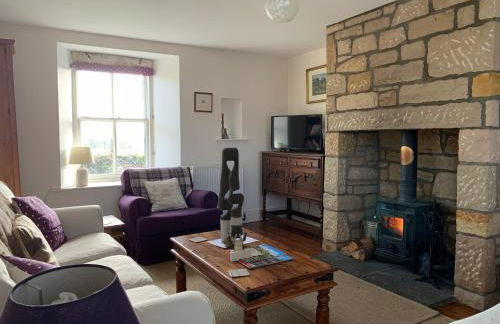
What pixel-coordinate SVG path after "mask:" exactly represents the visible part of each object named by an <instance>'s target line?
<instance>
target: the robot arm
mask: <svg viewBox="0 0 500 324" xmlns="http://www.w3.org/2000/svg"><path fill="white" fill-rule="evenodd" d="M221 152H222V153H221V170H220V171H221V172H220V181H219V182H220V183H219V194H218V200H217V208H218V211H225V212H224V213H222V214H220V241H221V243H222V244H224V243H223V241H224V240H225V238H226V237H227V238H228V242H229V243H230V244H232V247H231V249H232V250H233V249H234V242H235V240H238V239H240V240H241V241H242V247H244V242H246V240H247V236H248V232H247V231H243V216H242V215H243V212H242V211H243V205H244V202H245V196H244V194H243V193H241V192H238V193H234V192H236V191H238V190H240V189H241V185H240V184H241V183H240V174H239V173H240V158H239V157H240V154H239V149H238V148H237V147H223V148H222V150H221ZM228 162H233V167H232V170H231V169H230V168H229V166H228ZM227 194H228V197H225V196H226V195H227ZM234 205H236V206H234ZM227 233H231V234H227ZM231 235H232V241H231V239H230V237H231Z"/></svg>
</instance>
